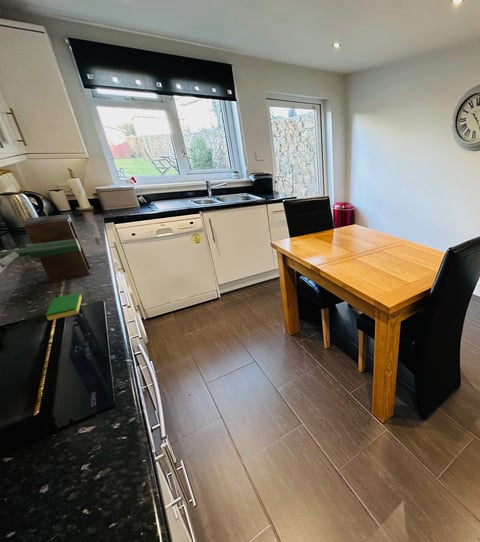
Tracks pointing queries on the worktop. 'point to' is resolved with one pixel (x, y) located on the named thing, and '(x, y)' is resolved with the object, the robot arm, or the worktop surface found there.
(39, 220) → the dark brown block
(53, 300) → the dish sponge
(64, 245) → the bottle
